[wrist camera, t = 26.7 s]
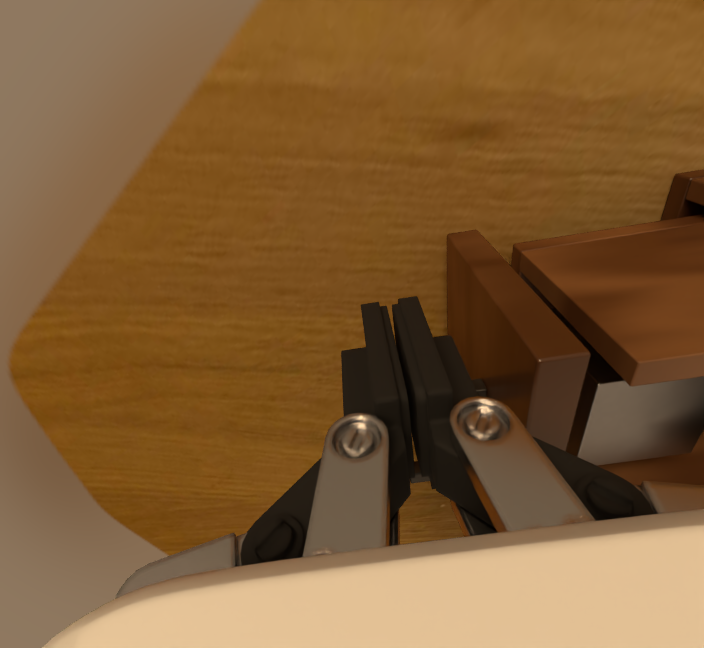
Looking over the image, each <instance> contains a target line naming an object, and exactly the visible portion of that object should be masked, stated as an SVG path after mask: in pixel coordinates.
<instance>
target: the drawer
mask: <svg viewBox="0 0 704 648" xmlns="http://www.w3.org/2000/svg"><path fill="white" fill-rule="evenodd" d="M554 309H557V310H558V311H559V312H560V313H561V314H562V315H563V316H564V317H565V319H566V320H567V321H568V322H569V323H570V324H571V325H572V326H573V327H574V328H575V329H576V330H577V331H578V332H579V333H580V334H581V335H582V336H583V337H584V338H585V340H586V341H587V342H588V343H589V344H590V345H591V346H592V347H593V348H594V349H595V350H596V351H597V352H598V353H599V354H600V355H601V356H602V357H603V358H604V359H605V361H606V362H607V363H608V364H609V365H610V366H611V367H612V368H613V369H614V370H615V371H616V372H617V373H618V374H619V375H620V376H621V377H622V378H623V379H624V380H625V381H626V383H627V384H628V385H629V386H631V387H633V386H640V385H647V384H655V383H662V382H669V381H676V380H683V379H690V378H697V377H704V214H702V215H695V216H689V217H683V218H676V219H670V220H663V221H657V222H651V223H644V224H638V225H631V226H625V227H619V228H612V229H606V230H600V231H593V232H587V233H580V234H574V235H568V236H561V237H555V238H549V239H542V240H536V241H529V242H523V243H517V244H514V245H513V253H512V263H511V266H510V265H509V264H508V263H507V262H506V261H505V260H504V259H503V258H502V256H501V255H500V254H499V253H498V252H497V251H496V250H495V249H494V248H493V247H492V246H491V245H490V243H489V242H488V241H487V240H486V239H485V238H484V237H483V236H482V235H481V234H480V233H479V232H478V231H477V230H471V231H465V232H458V233H452V234H448V235H447V325H448V335H450V336H451V337H452V338H453V340H454V342H455V345H456V347H457V349H458V351H459V353H460V356H461V358H462V360H463V362H464V364H465V367H466V369H467V371H468V373H469V375H470V378H471V380H472V382H473V384H474V387H475V389H476V391H477V393H478V395H479V396H480V397H489V398H492V399H496V400H498V401H500V402H502V403H504V404H505V405H507V406H508V407H509V408H510V409H511V410H512V411H513V412H514V413H515V415H516V416H517V417H518V419H519V420H520V421H521V423H522V424H523V425H524V426H525V428H526V429H527V430H528V432H529V433H530V434H531V436H533V437H535V438H537V439H540V440H542V441H544V442H546V443H548V444H551V445H553V446H555V447H557V448H559V449H561V450H564V451H566V449H567V445H568V441H569V437H570V433H571V429H572V425H573V422H574V418H575V414H576V410H577V406H578V402H579V399H580V395H581V391H582V387H583V383H584V379H585V375H586V372H587V368H588V364H589V360H590V356H591V355H590V351H589V350H588V349H587V348H586V347H585V346H584V345H583V344H582V343H581V342H580V341H579V339H578V338H577V337H576V336H575V335H574V334H573V333H572V332H571V331H570V330H569V329H568V328H567V327H566V325H565V324H564V323H563V322H562V321H561V320H560V319H559V318H558V317H557V316H556V315H555V314H554V313H553V311H552V310H554ZM597 466H598V467H601V468H603V469H605V470H607V471H609V472H612V473H614V474H616V475H618V476H620V477H622V478H623V479H625V480H627V481H628V482H630V483H631V484H633V485H641V483H642V481H654V482H667V483H680V484H693V485H704V430H703V432H702V434H701V435H700V437H699V439H698V441H697V443H696V445H695V446H694V448H693V450H692V452H691V453H687V454H679V455H672V456H664V457H657V458H649V459H642V460H635V461H627V462H620V463H612V464H605V465H597ZM414 469H415V478H412V479H409V481H410V482H411V483H418V482H425V481H430V479H429V476H427V477H421V473H420V469H419V464H418V461H416V462H414Z"/></svg>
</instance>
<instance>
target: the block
mask: <svg viewBox="0 0 704 648" xmlns="http://www.w3.org/2000/svg"><path fill="white" fill-rule="evenodd" d="M552 311H553V313H554V314H555V315H556V316H557V317H558V318H559V319H560V320H561V321H562V322H563V323H564V324H565V325H566V327H567V328H568V329H569V330H570V331H571V332H572V333H573V334H574V335H575V336H576V337H577V338H578V339H579V341H580V342H581V343H582V344H583V345H584V346H585V347H586V348H587V349H588V350H589V351H590V355H591V356H590V360H589V364H588V368H587V372H586V375H585V379H584V383H583V387H582V391H581V395H580V399H579V402H578V406H577V410H576V414H575V418H574V422H573V425H572V429H571V433H570V437H569V441H568V445H567V449H566V452H568V453H570V454H572V455H574V456H577V457H579V458H581V459H583V460H585V461H588V462H590V463H592V464H594V465H596V466H597V465H605V464H612V463H620V462H627V461H635V460H642V459H649V458H657V457H664V456H672V455H679V454H687V453H691V452H692V450H693V448H694V446H695V445H696V443H697V441H698V439H699V437H700V435H701V434H702V432H703V430H704V377H697V378H690V379H683V380H676V381H669V382H662V383H655V384H647V385H640V386H633V387H631V386H629V385H628V384H627V383H626V381H625V380H624V379H623V378H622V377H621V376H620V375H619V374H618V373H617V372H616V371H615V370H614V369H613V368H612V367H611V366H610V365H609V364H608V363H607V362H606V361H605V359H604V358H603V357H602V356H601V355H600V354H599V353H598V352H597V351H596V350H595V349H594V348H593V347H592V346H591V345H590V344H589V343H588V342H587V341H586V340H585V338H584V337H583V336H582V335H581V334H580V333H579V332H578V331H577V330H576V329H575V328H574V327H573V326H572V325H571V324H570V323H569V322H568V321H567V320H566V319H565V317H564V316H563V315H562V314H561V313H560V312H559V311H558V310H557V309H554V310H552Z"/></svg>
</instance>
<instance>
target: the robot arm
mask: <svg viewBox="0 0 704 648" xmlns="http://www.w3.org/2000/svg"><path fill="white" fill-rule="evenodd" d="M361 310H362V318H363V326H364V333H365V341H366V347H364V348H358V349H351V350H344V351H342V352H341V358H342V383H343V408H344V417H342V418H340V419H339V420H337V421H336V422H335V423H334V424H333V425H332V426H331V427H330V428H329V430H328V432H327V435H326V438H325V443H324V448H323V453H322V458H321V459H320V460H319V461H318V462H316V463H315V464H314V465H313V466H312V467H311V468H310V469H309V470H308V471H307V472H306V473H305V474H304V475H303V476H302V477H301V478H300V479H299V480H298V481H297V482H296V483H295V484H294V485H293V486H292V487H291V488H290V489H289V490H288V491H287V492H286V493H285V494H284V495H283V496H282V497H281V498H279V499H278V500H277V501H276V502H275V503H274V504H273V505H272V506H271V507H270V508H269V509H268V510H267V511H266V512H265V513H264V514H263V515H262V516H261V517H260V518H259V519H258V520H257V521H256V522H255V523H254V524H253V526H252V527H251V528H250V529H249V530H248V532H247V533H245V534H242V535H239V536H237V537H236V535H235V534H234V533H231V534H229V535H226V536H223V537H220V538H218V539H215V540H212V541H209V542H207V543H204V544H201V545H199V546H196V547H193V548H190V549H188V550H185V551H182V552H179V553H177V554H174V555H171V556H168V557H166V558H163V559H160V560H158V561H155V562H152V563H149V564H147V565H145V566H144V567H142V568H140V569H138V570H137V571H136V572H135V573H134V574H133V575H131V576H130V577H129V578H128V579H127V580H126V581H125V583H124V584H123V586H122V587H121V589H120V590H119V591H118V593H117V595H116V598H115V600H112V601H110V602H108V603H106V604H104V605H102V606H100V607H99V608H97V609H95V610H93V611H92V612H90V613H88V614H86V615H85V616H83V617H82V618H80V619H79V620H77V621H76V622H74V623H72V624H71V625H69V626H68V627H67V628H65V629H64V630H62V631H61V632H60V633H58V634H57V635H56V636H54V637H53V638H52V639H51V640H50V641H49V642H48V643H47V644H45V645H44V646H43V647H42V648H704V485H693V484H680V483H667V482H654V481H642V483H641V485H633V484H631V483H630V482H628V481H627V480H625V479H623V478H622V477H620V476H618V475H616V474H614V473H612V472H609V471H607V470H605V469H603V468H601V467H598V466H596V465H594V464H592V463H590V462H588V461H585V460H583V459H581V458H579V457H577V456H574V455H572V454H570V453H568V452H566V451H564V450H561V449H559V448H557V447H555V446H553V445H551V444H548V443H546V442H544V441H542V440H540V439H537V438H535V437H533V436H531V434H530V433H529V432H528V430H527V429H526V428H525V426H524V425H523V424H522V423H521V421H520V420H519V419H518V417H517V416H516V415H515V413H514V412H513V411H512V410H511V409H510V408H509V407H508V406H507V405H505V404H504V403H502V402H500V401H498V400H496V399H492V398H489V397H480V396H479V395H478V393H477V391H476V389H475V387H474V384H473V382H472V380H471V378H470V375H469V373H468V371H467V369H466V367H465V364H464V362H463V360H462V358H461V356H460V353H459V351H458V349H457V347H456V345H455V342H454V340H453V338H452V337H451V336H450V335H447V336H440V337H432V334H431V332H430V329H429V326H428V324H427V321H426V318H425V316H424V313H423V311H422V308H421V305H420V303H419V300H418V298H417V296H415V297H408V298H402V299H398V304H394V305H392V312H393V321H394V331H395V339H394V335H393V331H392V327H391V322H390V318H389V314H388V310H387V306H381V307H380V306H379V302H375V303H368V304H362V305H361ZM395 341H396V343H395ZM411 433H412V435H411ZM412 437H413V442H414V446H415V451H416V455H417V460H418V464H419V469H420V473H421V477H427V476H429V479H430V483H431V487H432V489H436V491H438V492H439V493H441V494H443V495H444V496H446V497H447V498H449V499H450V502H451V506H452V509H453V512H454V514H455V516H456V518H457V521H458V523H459V525H460V527H461V530H462V532H463V534H464V537H459V538H451V539H443V540H435V541H427V542H419V543H411V544H403V545H400V514H399V508H400V507H401V506H402V505H403V503H404V502H405V501H406V499H407V498H408V497H409V496H410V494H411V491H410V481H409V479H412V478H415V469H414V457H413V446H412Z"/></svg>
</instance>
